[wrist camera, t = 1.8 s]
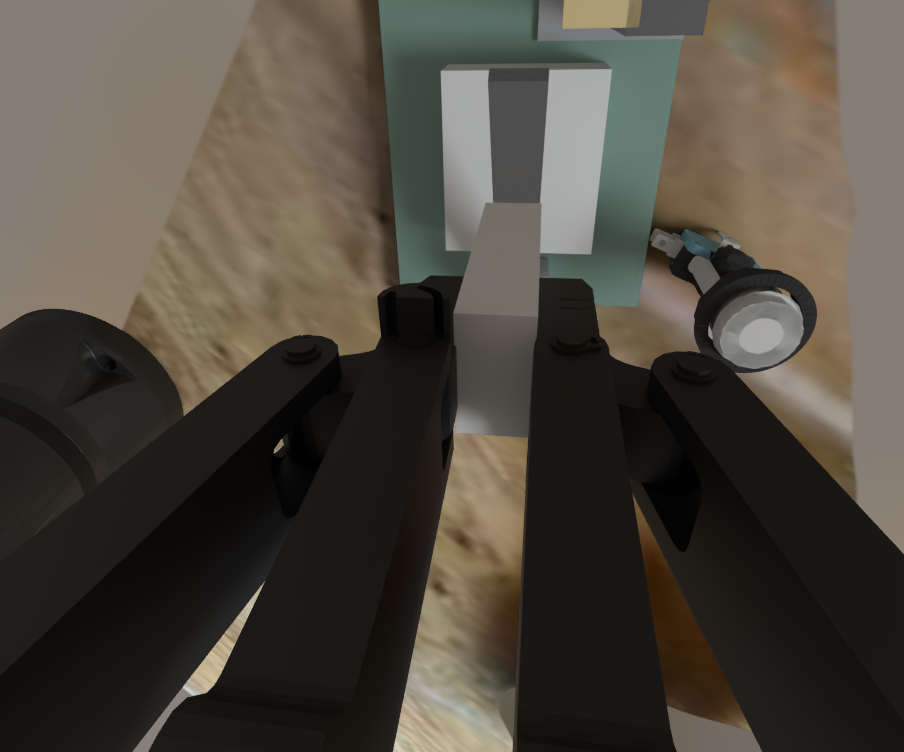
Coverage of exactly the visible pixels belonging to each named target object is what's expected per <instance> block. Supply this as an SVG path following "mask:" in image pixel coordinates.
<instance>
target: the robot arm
mask: <svg viewBox="0 0 904 752" xmlns="http://www.w3.org/2000/svg"><path fill="white" fill-rule="evenodd" d="M541 207H542V204H541V203H488V202H486V203H485V207H484V210H483V213H482V217H481V220H480V224H479V227H478V230H477V234H476V237H475V241H474V244H473V248H472V251H471V254H470V258H469V261H468V265H467V268H466V271H465V275H464V276H440V275H430V276H429V277H427V278H426V279H425V280H423V281H422V282H420V283H405V284H400V285H396V286H392V287H390V288H388V289H386V290H384V291H382V292H381V293H380V294H379V295H378V296H377V299H378V309H379V319H380V329H381V338H380V340H379V342H378V344H377V346H376V349H375V350H372V351H369V352H364V353H359V354H352V355H344V356H339V353H338V346H337V344H336V343H335V342H333V341H332V340H331V339H328V338H325V337H322V336H313V335H303V336H301V335H299V336H294V337H292V338H289V339H286V340H283V341H281V342H279V343H277V344H276V345H274V346H272V347H271V348H269V349H268V350H267V351H266V352H264V353H263V354H262V355H261V356H259V357H258V358H257V359H256V360H254V361H253V362H252V363H250V364H249V365H248V366H247V367H245V368H244V369H243V370H242V371H240V372H239V373H238V374H237V375H235V376H234V377H233V378H232V379H230V380H229V381H228V382H227V383H225V384H224V385H223V386H222V387H220V388H219V389H218V390H217V391H215V392H214V393H213V394H211V395H210V396H209V397H208V398H206V399H205V400H204V401H203V402H201V403H200V404H199V405H198V406H196V407H195V408H194V409H193V410H191V411H190V412H189V413H188V414H186V415H185V416H184V417H183V408H182V403H181V400H180V397H179V394H178V391H177V389H176V387H175V385H174V383H173V381H172V380H171V378H170V376H169V375H168V373H167V372H166V371H165V369H164V368H163V367H162V365H161V364H160V363H159V362H158V361H157V359H156V358H155V357H154V356H153V355H152V354H151V353H150V352H149V351H148V350H147V349H146V348H145V347H143V346H142V345H141V344H140V343H139V342H137V341H136V340H135V339H133V338H132V337H131V336H129V335H128V334H126V333H125V332H123V331H122V330H120V329H118V328H117V327H115V326H113V325H111V324H109V323H107V322H105V321H102V320H101V319H98V318H96V317H93V316H90V315H87V314H83V313H80V312H76V311H71V310H64V309H43V310H37V311H33V312H30V313H27V314H25V315H23V316H21V317H19V318H18V319H16V320H15V321H13V322H11V323H10V324H8V325H7V326H5V327H4V328H2V329H0V752H132V751H133V750H134V749H135V748H136V746H137V745H138V744H139V742H140V741H141V740H142V739H143V737H144V736H145V735H146V733H147V732H148V731H149V729H150V728H151V727H152V726H153V724H154V723H155V722H156V720H157V719H158V718H159V717H160V715H161V714H162V713H163V711H164V710H165V709H166V708H167V706H168V705H169V704H170V702H171V701H172V700H173V698H174V697H175V696H176V695H177V693H178V692H179V691H180V690H181V688H182V687H183V686H184V684H185V683H186V682H187V681H188V679H189V678H190V677H191V675H192V674H193V673H194V672H195V670H196V669H197V668H198V666H199V665H200V664H201V663H202V661H203V660H204V659H205V657H206V656H207V655H208V653H209V652H210V651H211V650H212V648H213V647H214V646H215V644H216V643H217V642H218V641H219V639H220V638H221V637H222V635H223V634H224V633H225V632H226V630H227V629H228V628H229V626H230V625H231V624H232V623H233V621H234V620H235V619H236V617H237V616H238V615H239V614H240V612H241V611H242V610H243V608H244V607H245V606H246V605H247V603H248V602H249V601H250V599H251V598H252V597H253V596H254V594H255V593H256V592H257V590H258V589H259V588H260V586H261V585H262V584H263V583H264V581H265V583H264V585H263V587H262V589H261V591H260V593H259V595H258V597H257V599H256V602H255V604H254V606H253V608H252V610H251V612H250V614H249V616H248V618H247V621H246V623H245V625H244V627H243V629H242V631H241V633H240V635H239V637H238V639H237V642H236V644H235V646H234V648H233V650H232V652H231V654H230V656H229V658H228V661H227V663H226V665H225V667H224V669H223V671H222V673H221V675H220V677H219V678H218V680H217V682H216V683H215V685H214V686H213V687H212V688H211V689H210V690H209V691H208V692H207V693H205V694H200V695H196V696H192V697H187V698H186V699H185V700H184V701H183V702H182V703H181V704H180V705H179V706H178V707H176V709H174V710H173V711H172V713H171V714H170V716H169V717H168V719H167V721H166V722H165V724H164V725H163V727H162V729H161V730H160V732H159V733H158V735H157V736H156V738H155V740H154V742H153V744H152V746H151V748H150V750H149V752H393V748H394V743H395V738H396V733H397V728H398V723H399V718H400V713H401V708H402V703H403V698H404V693H405V688H406V683H407V678H408V673H409V668H410V663H411V658H412V653H413V648H414V643H415V638H416V633H417V629H418V624H419V619H420V614H421V609H422V604H423V599H424V594H425V589H426V584H427V579H428V574H429V569H430V564H431V559H432V554H433V549H434V544H435V539H436V534H437V529H438V524H439V519H440V514H441V509H442V504H443V499H444V494H445V489H446V484H447V479H448V474H449V469H450V464H451V459H452V454H453V450H454V444H453V427H454V422H455V418H456V433H468V434H483V435H497V436H512V437H527V438H528V452H527V468H526V492H525V512H524V532H523V552H522V572H521V592H520V613H519V633H518V653H517V673H516V693H515V714H514V733H513V752H677V751H676V749H675V746H674V743H673V738H672V734H671V729H670V723H669V717H668V710H667V704H666V698H665V692H664V686H663V680H662V673H661V667H660V661H659V655H658V649H657V643H656V636H655V630H654V624H653V618H652V612H651V606H650V599H649V593H648V587H647V581H646V575H645V569H644V562H643V556H642V550H641V544H640V538H639V532H638V525H637V519H636V513H635V507H634V501H633V495H634V497H635V499H636V501H637V503H638V505H639V507H640V509H641V511H642V513H643V515H644V517H645V519H646V521H647V523H648V525H649V527H650V529H651V531H652V533H653V535H654V537H655V539H656V541H657V543H658V545H659V547H660V549H661V551H662V553H663V555H664V557H665V559H666V561H667V563H668V565H669V567H670V569H671V571H672V573H673V575H674V577H675V579H676V581H677V583H678V585H679V587H680V589H681V591H682V593H683V595H684V597H685V599H686V601H687V603H688V605H689V607H690V609H691V611H692V613H693V615H694V617H695V619H696V621H697V623H698V625H699V627H700V629H701V631H702V633H703V635H704V637H705V638H706V640H707V642H708V644H709V646H710V648H711V650H712V652H713V654H714V656H715V658H716V660H717V662H718V664H719V666H720V668H721V670H722V672H723V674H724V676H725V678H726V680H727V682H728V684H729V686H730V688H731V690H732V692H733V694H734V696H735V698H736V700H737V702H738V704H739V706H740V708H741V710H742V712H743V714H744V716H745V718H746V720H747V722H748V724H749V726H750V728H751V730H752V732H753V734H754V736H755V738H756V740H757V742H758V744H759V746H760V748H761V750H762V752H904V554H903V553H902V552H901V551H900V550H899V549H898V547H897V546H896V545H895V544H894V543H893V542H892V541H891V540H890V539H889V538H888V537H887V536H886V535H885V534H884V533H883V531H882V530H881V529H880V528H879V527H878V526H877V525H876V524H875V523H874V522H873V521H872V520H871V519H870V518H869V517H868V515H867V514H866V513H865V512H864V511H863V510H862V509H861V508H860V507H859V506H858V505H857V503H856V502H855V501H854V500H853V499H852V498H851V497H850V496H849V495H848V494H847V493H846V492H845V491H844V490H843V488H842V487H841V486H840V485H839V484H838V483H837V482H836V481H835V480H834V479H833V478H832V477H831V476H830V474H829V473H828V472H827V471H826V470H825V469H824V468H823V467H822V466H821V465H820V464H819V463H818V462H817V461H816V459H815V458H814V457H813V456H812V455H811V454H810V453H809V452H808V451H807V450H806V449H805V448H804V447H803V445H802V444H801V443H800V442H799V441H798V440H797V439H796V438H795V437H794V436H793V435H792V434H791V433H790V432H789V430H788V429H787V428H786V427H785V426H784V425H783V424H782V423H781V422H780V421H779V420H778V419H777V418H776V417H775V415H774V414H773V413H772V412H771V411H770V410H769V409H768V408H767V407H766V406H765V405H764V404H763V403H762V401H761V400H760V399H759V398H758V397H757V396H756V395H755V394H754V393H753V392H752V391H751V390H750V389H749V388H748V386H747V385H746V384H745V383H744V382H743V381H742V380H741V379H740V378H739V377H738V376H737V375H736V374H735V373H734V371H733V370H732V369H731V368H729V367H728V366H727V365H725V364H724V363H723V362H721V361H719V360H717V359H715V358H712V357H710V356H708V355H706V354H702V353H697V352H692V351H687V352H678V351H676V352H671V353H666V354H663V355H661V356H659V357H657V358H656V359H655V360H654V362H653V364H652V366H651V370H650V369H645V368H641V367H637V366H633V365H630V364H626V363H623V362H621V361H619V360H617V359H615V358H613V357H612V356H610V353H609V347H608V345H607V343H606V341H605V340H604V339H603V338H601V337H600V335H599V328H598V321H597V315H596V311H595V309H596V308H595V302H594V294H593V289H592V288H591V287H590V286H589V285H588V284H587V283H586V282H585V281H584V280H583V279H574V278H545V277H539V271H540V239H541ZM281 439H283V443H284V445H283V446H282V448H281V449H280V450H279V451H278V452H276V453H275V454H274V453H273V452H274V449H275V447H276V446H277V444H278V443H279V441H280V440H281ZM632 493H633V495H632Z"/></svg>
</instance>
